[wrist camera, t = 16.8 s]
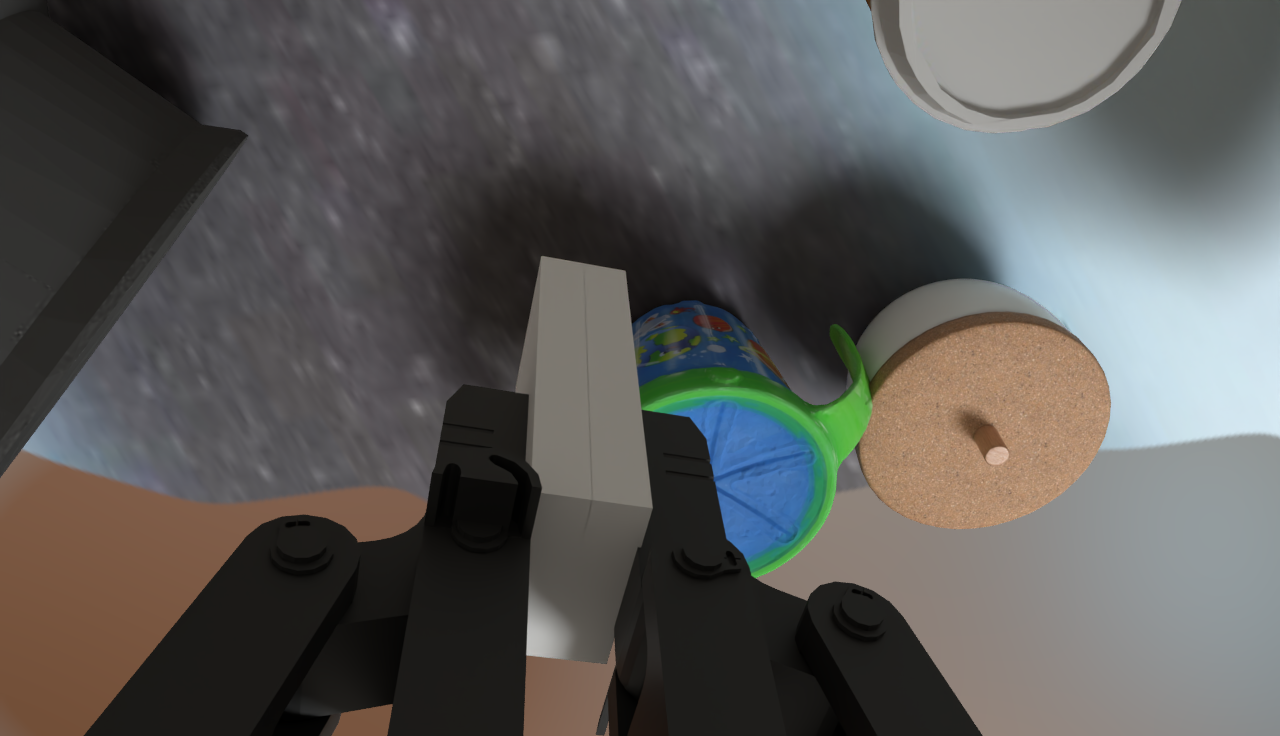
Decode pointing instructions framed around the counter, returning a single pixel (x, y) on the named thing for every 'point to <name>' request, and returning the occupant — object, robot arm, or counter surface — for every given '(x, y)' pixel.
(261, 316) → the counter surface
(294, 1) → the counter surface
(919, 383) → the lidded jar
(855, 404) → the snack cup
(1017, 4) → the disposable coffee cup
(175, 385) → the counter surface
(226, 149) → the wheel rim
